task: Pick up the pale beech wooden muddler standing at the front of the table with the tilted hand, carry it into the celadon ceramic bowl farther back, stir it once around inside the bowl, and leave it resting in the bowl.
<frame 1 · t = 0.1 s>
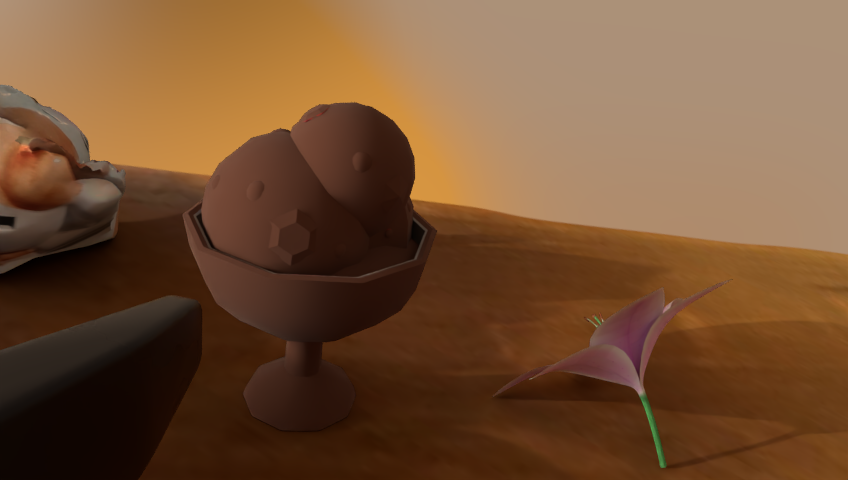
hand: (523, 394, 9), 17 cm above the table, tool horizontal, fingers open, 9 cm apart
lucky cat figurine: (15, 253, 43), on the table
lily: (593, 420, 36), on the table
ice cream bowl: (300, 397, 34), on the table
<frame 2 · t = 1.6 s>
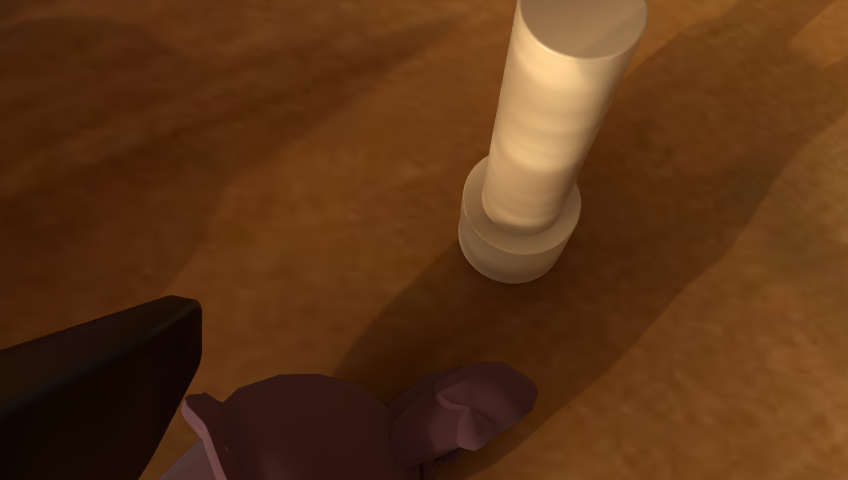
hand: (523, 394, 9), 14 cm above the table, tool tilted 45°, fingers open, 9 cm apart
muddler: (510, 234, 25), on the table
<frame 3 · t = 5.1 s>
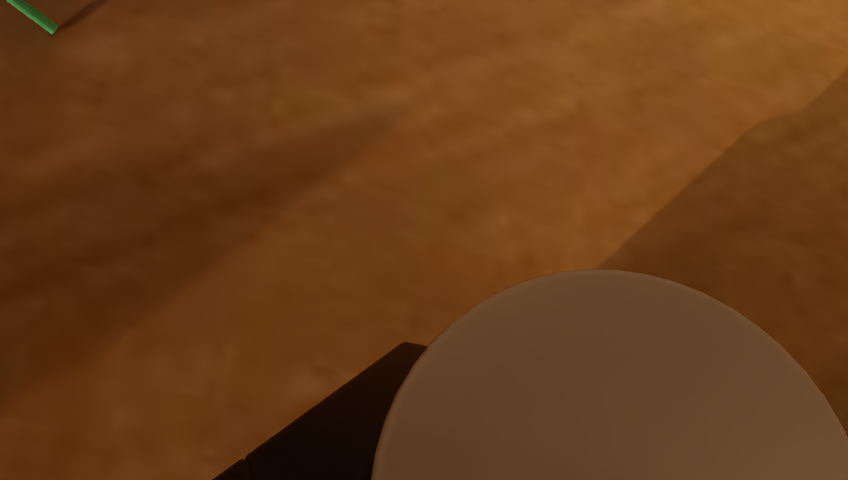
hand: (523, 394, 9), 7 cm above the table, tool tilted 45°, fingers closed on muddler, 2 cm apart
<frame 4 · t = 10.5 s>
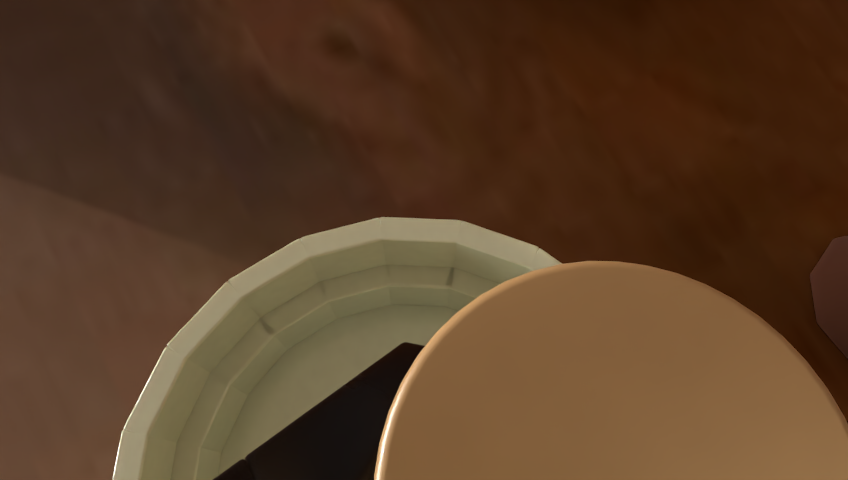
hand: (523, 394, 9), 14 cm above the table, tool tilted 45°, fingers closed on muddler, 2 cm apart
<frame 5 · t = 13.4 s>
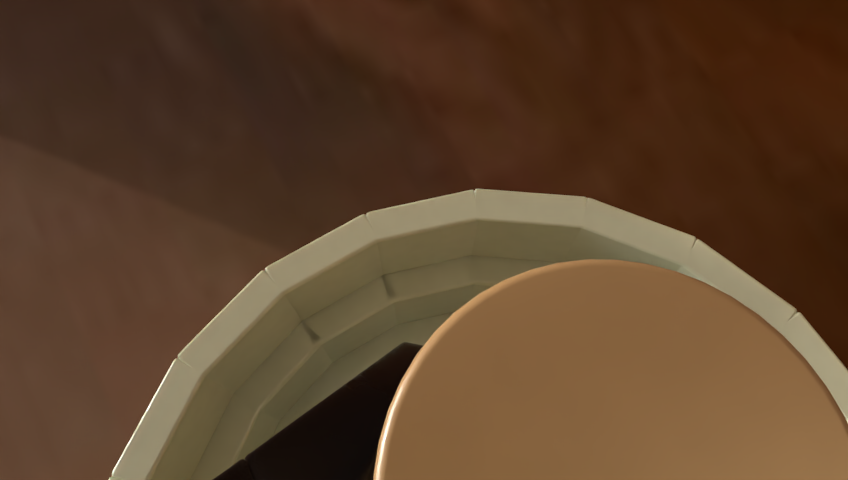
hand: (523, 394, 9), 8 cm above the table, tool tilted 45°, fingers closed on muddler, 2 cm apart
when the fingers open (7 cm above the table, at t = 16.1 s): muddler stays where it is, resting on bowl.
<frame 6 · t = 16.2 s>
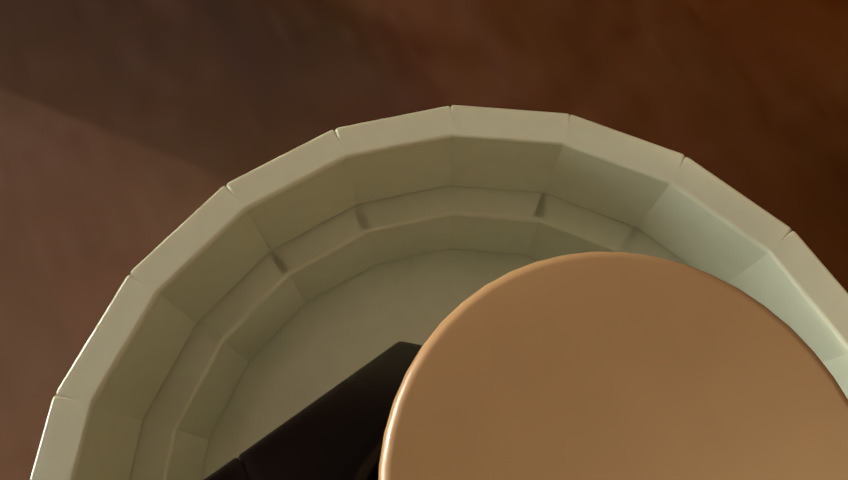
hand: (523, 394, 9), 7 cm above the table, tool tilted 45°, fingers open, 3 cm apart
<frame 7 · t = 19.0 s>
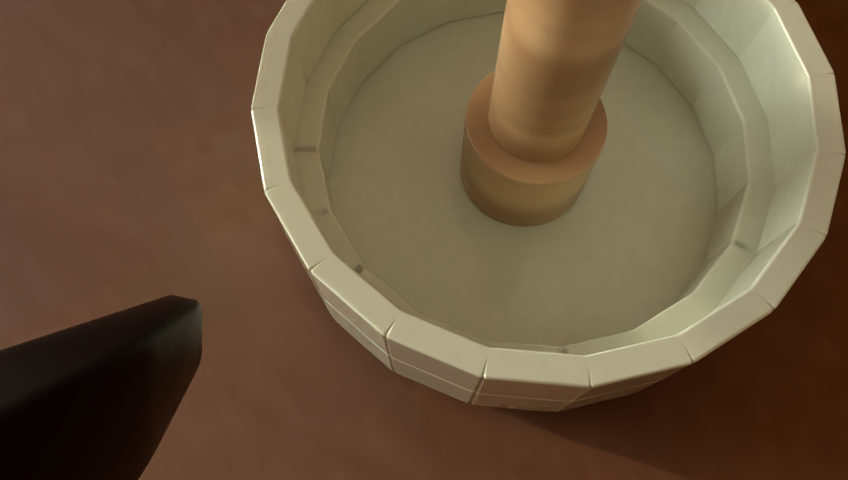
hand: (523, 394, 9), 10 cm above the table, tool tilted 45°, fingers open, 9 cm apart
bowl: (519, 178, 22), on the table
muddler: (521, 170, 21), point 1 cm above the table, touching bowl
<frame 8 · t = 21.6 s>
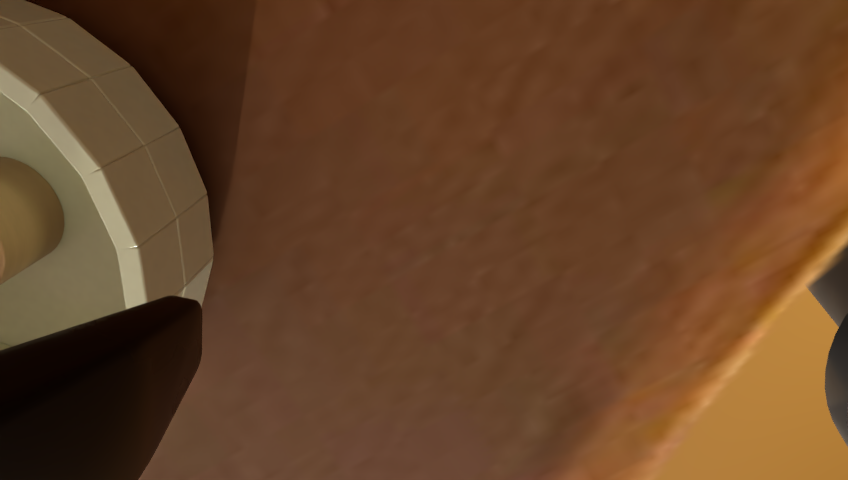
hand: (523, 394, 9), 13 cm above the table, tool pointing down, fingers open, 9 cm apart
bowl: (25, 202, 24), on the table
muddler: (13, 208, 24), point 1 cm above the table, touching bowl
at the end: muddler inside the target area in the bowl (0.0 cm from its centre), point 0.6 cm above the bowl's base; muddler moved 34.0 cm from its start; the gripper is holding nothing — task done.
